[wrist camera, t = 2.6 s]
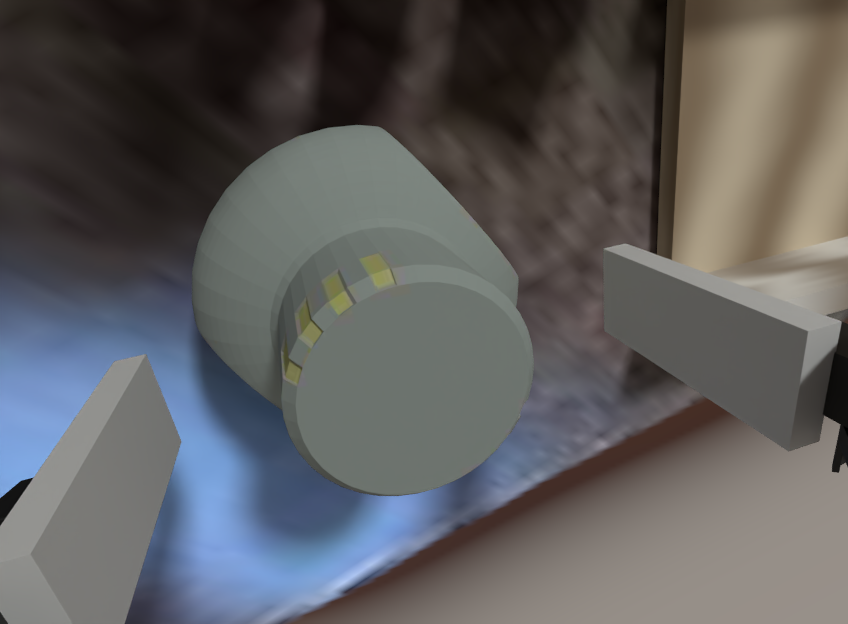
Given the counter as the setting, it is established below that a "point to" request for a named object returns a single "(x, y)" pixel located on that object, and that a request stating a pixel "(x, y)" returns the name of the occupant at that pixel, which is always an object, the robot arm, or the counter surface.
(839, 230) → the end holder
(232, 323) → the air freshener
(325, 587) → the counter surface
